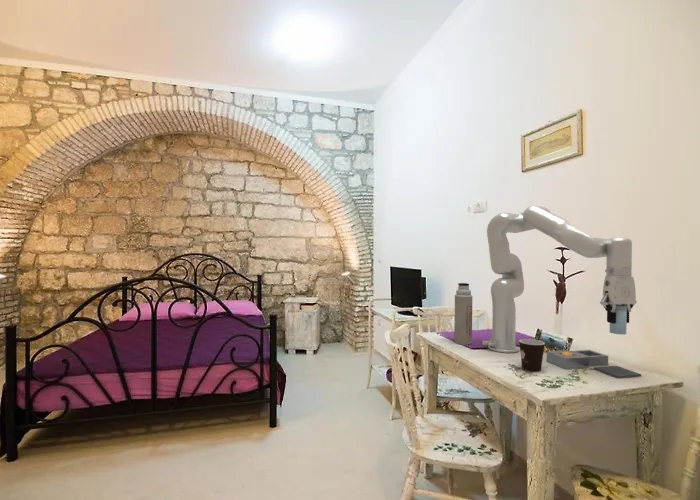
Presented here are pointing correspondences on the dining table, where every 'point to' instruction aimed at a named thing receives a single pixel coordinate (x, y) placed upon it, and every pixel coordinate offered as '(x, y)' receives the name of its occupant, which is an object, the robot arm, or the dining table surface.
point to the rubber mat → (617, 371)
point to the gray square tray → (594, 357)
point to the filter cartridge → (619, 320)
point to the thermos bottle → (463, 315)
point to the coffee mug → (531, 354)
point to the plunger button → (567, 353)
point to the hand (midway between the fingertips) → (618, 322)
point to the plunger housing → (567, 359)
